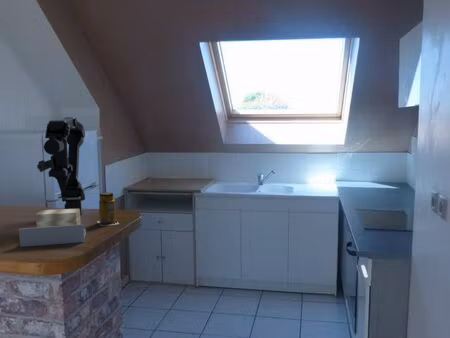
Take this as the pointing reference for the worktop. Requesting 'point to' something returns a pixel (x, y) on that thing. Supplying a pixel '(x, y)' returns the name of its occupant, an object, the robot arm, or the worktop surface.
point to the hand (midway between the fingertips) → (62, 191)
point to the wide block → (58, 217)
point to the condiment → (107, 209)
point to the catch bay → (52, 235)
